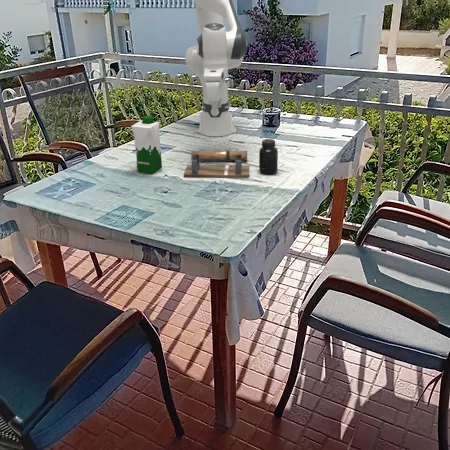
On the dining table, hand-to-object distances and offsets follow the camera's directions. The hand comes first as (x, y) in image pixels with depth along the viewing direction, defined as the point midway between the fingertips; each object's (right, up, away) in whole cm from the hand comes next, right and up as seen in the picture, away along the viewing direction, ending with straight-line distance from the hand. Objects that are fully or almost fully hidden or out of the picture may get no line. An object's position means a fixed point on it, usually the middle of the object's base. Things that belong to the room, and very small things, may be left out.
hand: (217, 110), depth 180 cm
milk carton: (-26, -23, +2) cm, 34 cm away
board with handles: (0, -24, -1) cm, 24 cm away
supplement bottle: (+19, -24, -1) cm, 30 cm away
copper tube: (+1, -18, +9) cm, 20 cm away
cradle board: (0, -24, -1) cm, 24 cm away
